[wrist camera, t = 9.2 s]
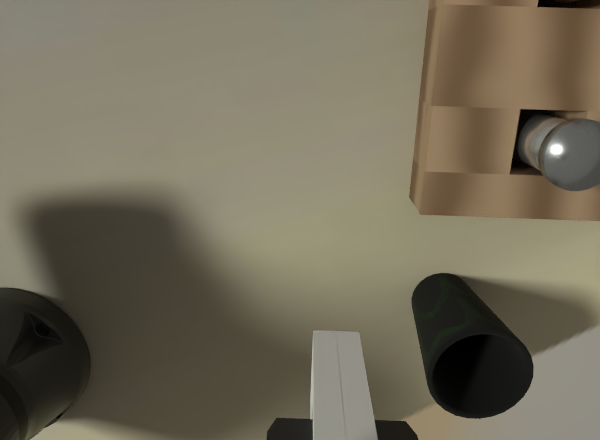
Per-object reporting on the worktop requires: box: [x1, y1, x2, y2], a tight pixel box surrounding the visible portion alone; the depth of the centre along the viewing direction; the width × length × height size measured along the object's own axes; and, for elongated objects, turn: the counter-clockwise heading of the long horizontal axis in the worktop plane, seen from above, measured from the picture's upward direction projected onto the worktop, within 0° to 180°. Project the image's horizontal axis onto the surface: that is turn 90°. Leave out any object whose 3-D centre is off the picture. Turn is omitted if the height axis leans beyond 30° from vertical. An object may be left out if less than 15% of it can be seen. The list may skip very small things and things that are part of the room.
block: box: [409, 0, 600, 221], centre depth 39 cm, size 18×24×5 cm
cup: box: [412, 273, 533, 419], centre depth 42 cm, size 8×8×12 cm
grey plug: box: [513, 111, 600, 191], centre depth 38 cm, size 5×5×9 cm
